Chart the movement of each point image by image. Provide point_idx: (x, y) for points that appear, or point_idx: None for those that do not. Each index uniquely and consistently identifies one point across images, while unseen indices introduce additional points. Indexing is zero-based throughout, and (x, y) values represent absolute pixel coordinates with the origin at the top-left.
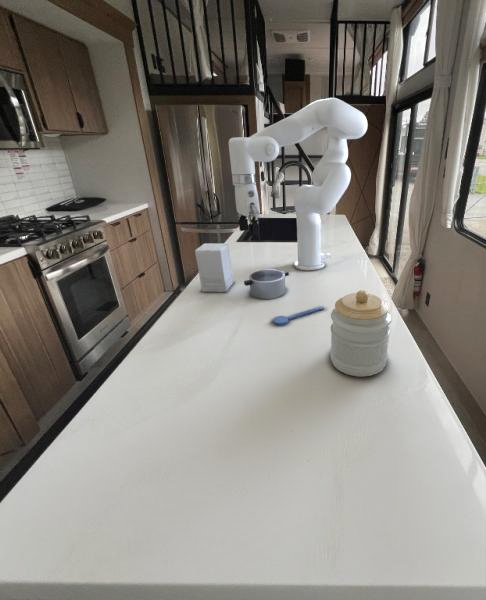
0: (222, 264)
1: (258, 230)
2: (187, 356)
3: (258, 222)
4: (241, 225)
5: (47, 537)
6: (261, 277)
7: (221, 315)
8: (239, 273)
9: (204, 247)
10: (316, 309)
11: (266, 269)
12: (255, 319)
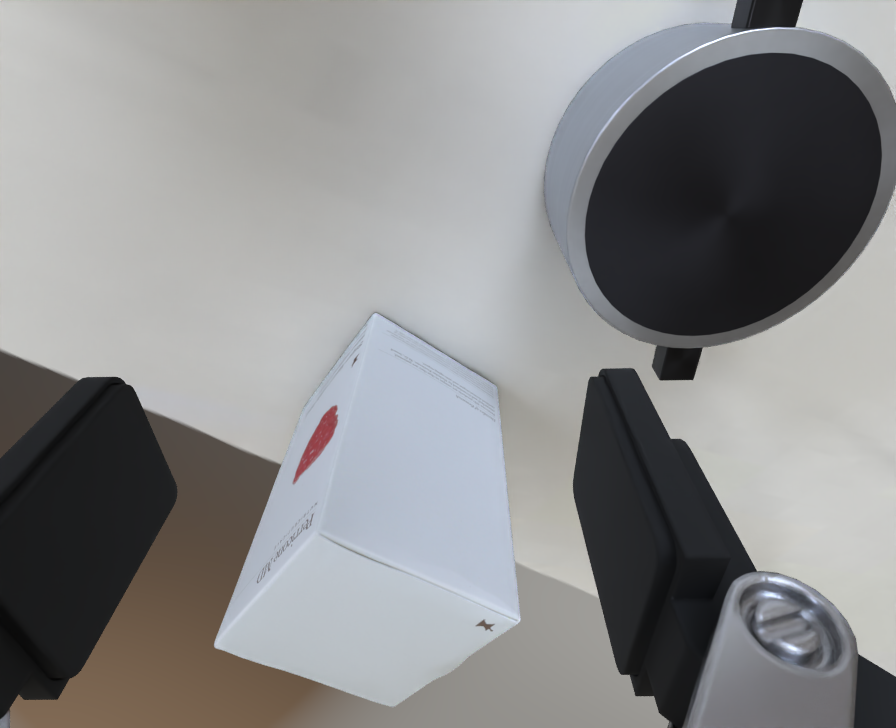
0: (509, 517)
1: (658, 422)
2: (869, 585)
3: (835, 609)
4: (127, 556)
5: None
6: (728, 272)
7: (722, 464)
8: (209, 215)
9: (359, 670)
10: None
11: (593, 150)
12: (892, 372)
